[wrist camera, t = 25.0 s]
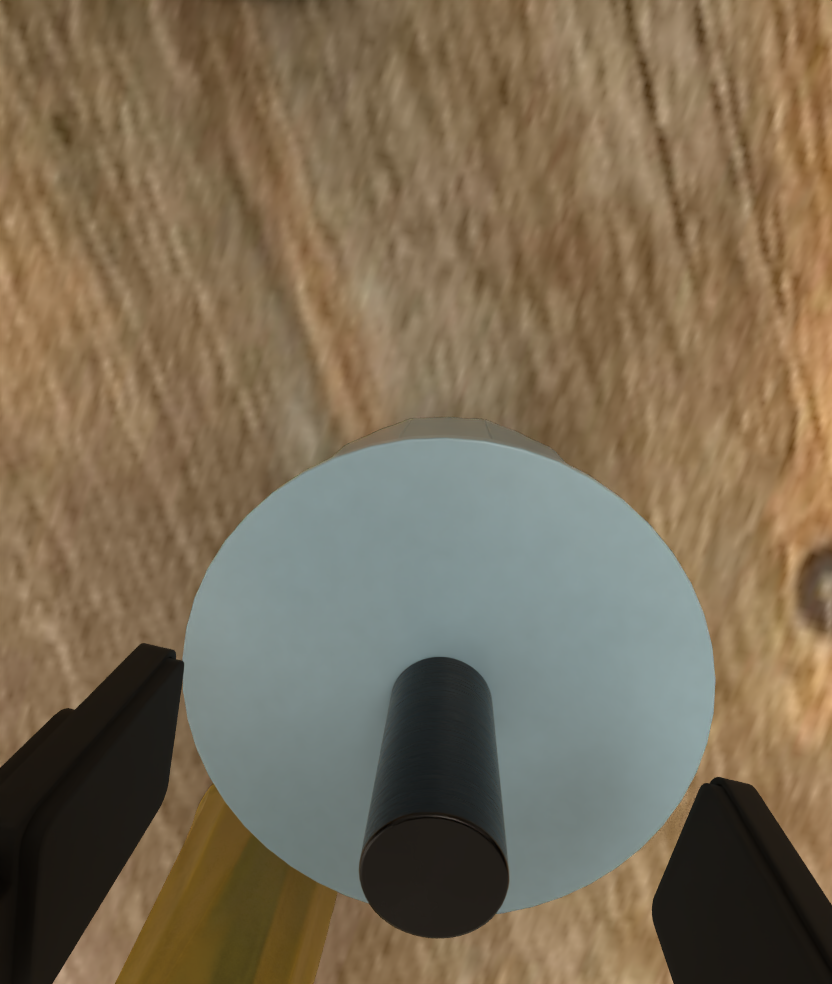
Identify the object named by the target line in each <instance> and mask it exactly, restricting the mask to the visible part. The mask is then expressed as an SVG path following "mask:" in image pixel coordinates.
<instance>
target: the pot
mask: <svg viewBox="0 0 832 984" xmlns="http://www.w3.org/2000/svg"><path fill="white" fill-rule="evenodd" d="M429 435H457V436H470V437H482V438H488V439H492V440H497V441H502V442H506V443H511V444H516V445H521V446H523V447H526V448H529V449H532V450H535V451H537V452H540V453H543V454H546V455H549V456H552V457H554V458H557V459H559V460H561V461H563V462H565V461H564V460H563V459H562V458H561V457H560V456H559V455H558V454H557V453H556V452H555V451H554V450H553V449H551V448H550V447H549V446H546V445H544V444H542V443H539V442H537V441H535V440H532V439H530V438H529V437H527V436H525V435H523V434H521V433H519V432H517V431H514V430H511V429H508V428H505V427H503V426H500V425H498V424H495V423H493V422H491V421H488V420H484V419H468V418H455V417H438V418H412V419H408V420H405V421H403V422H400V423H398V424H395V425H392V426H389V427H386V428H383V429H380V430H378V431H376V432H374V433H372V434H370V435H368V436H366V437H363V438H361V439H358V440H356V441H353V442H351V443H348V444H347V445H345V446H343V447H342V448H341V449H340V450H339V451H338V452H337V453H336V454H334V455H333V456H336V455H338V454H341V453H344V452H347V451H350V450H353V449H356V448H359V447H362V446H365V445H368V444H371V443H376V442H381V441H387V440H392V439H398V438H403V437H409V436H429ZM333 456H332V457H333ZM565 463H566V462H565Z"/></svg>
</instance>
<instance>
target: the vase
mask: <svg viewBox="0 0 832 984" xmlns="http://www.w3.org/2000/svg"><path fill="white" fill-rule="evenodd" d="M336 897H337V891H335V890H333V889H330V888H328V887H326V886H324V885H322V884H320V883H318V882H316V881H314V880H313V879H311V878H309V877H308V876H306V875H304V874H303V873H301V872H299V871H298V870H296V869H294V868H293V867H291V866H290V865H289V864H287V863H286V862H285V861H283V860H282V859H281V858H279V857H278V856H277V855H276V854H274V853H273V852H272V851H270V850H269V849H268V848H266V847H265V846H264V845H263V844H262V843H261V842H260V841H259V840H258V839H257V838H256V837H255V836H254V835H253V834H252V833H251V832H250V831H249V830H248V829H247V828H246V827H245V826H244V825H243V824H242V822H241V821H240V820H239V819H238V817H237V816H236V815H235V814H234V813H233V811H232V810H231V809H230V808H229V806H228V805H227V804H226V803H225V801H224V799H223V798H222V796H221V795H220V793H219V791H218V790H217V788H216V787H215V785H214V783H213V784H212V785H211V786H210V787H209V789H208V790H207V792H206V793H205V795H204V796H203V798H202V800H201V802H200V804H199V806H198V808H197V811H196V814H195V817H194V821H193V824H192V826H191V828H190V831H189V833H188V835H187V838H186V840H185V842H184V845H183V847H182V849H181V851H180V853H179V855H178V857H177V859H176V861H175V863H174V865H173V867H172V869H171V871H170V873H169V875H168V877H167V879H166V881H165V883H164V885H163V887H162V889H161V892H160V894H159V896H158V898H157V900H156V902H155V904H154V906H153V908H152V910H151V912H150V914H149V916H148V918H147V920H146V922H145V924H144V926H143V928H142V930H141V932H140V934H139V936H138V938H137V940H136V942H135V944H134V946H133V948H132V950H131V952H130V954H129V956H128V958H127V960H126V962H125V964H124V966H123V968H122V971H121V973H120V975H119V977H118V979H117V981H116V983H115V984H313V983H314V980H315V977H316V973H317V970H318V966H319V962H320V958H321V954H322V951H323V947H324V944H325V940H326V936H327V932H328V928H329V923H330V919H331V916H332V912H333V908H334V905H335V901H336Z"/></svg>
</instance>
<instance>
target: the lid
mask: <svg viewBox="0 0 832 984" xmlns="http://www.w3.org/2000/svg"><path fill="white" fill-rule="evenodd" d="M182 661H183V662H184V674H183V693H184V699H185V705H186V711H187V718H188V722H189V725H190V729H191V732H192V735H193V738H194V742H195V745H196V748H197V751H198V753H199V755H200V757H201V760H202V762H203V764H204V766H205V768H206V770H207V773H208V775H209V777H210V779H211V780H212V782H213V783H214V785H215V787H216V788H217V790H218V791H219V793H220V795H221V796H222V798H223V799H224V801H225V803H226V804H227V805H228V806H229V808H230V809H231V810H232V811H233V813H234V814H235V815H236V816H237V817H238V819H239V820H240V821H241V822H242V824H243V825H244V826H245V827H246V828H247V829H248V830H249V831H250V832H251V833H252V834H253V835H254V836H255V837H256V838H257V839H258V840H259V841H260V842H261V843H262V844H263V845H264V846H265V847H266V848H268V849H269V850H270V851H272V852H273V853H274V854H276V855H277V856H278V857H279V858H281V859H282V860H283V861H285V862H286V863H287V864H289V865H290V866H291V867H293V868H294V869H296V870H298V871H299V872H301V873H303V874H304V875H306V876H308V877H309V878H311V879H313V880H314V881H316V882H318V883H320V884H322V885H324V886H326V887H328V888H330V889H333V890H335V891H337V892H339V893H341V894H343V895H345V896H348V897H351V898H354V899H357V900H360V901H363V902H366V903H369V904H370V906H371V907H372V908H373V910H374V911H375V912H376V913H377V914H378V915H379V916H380V917H381V918H382V919H384V920H385V921H386V922H387V923H389V924H390V925H392V926H394V927H395V928H397V929H399V930H402V931H404V932H406V933H409V934H412V935H416V936H420V937H426V938H451V937H456V936H461V935H464V934H467V933H470V932H472V931H474V930H476V929H478V928H480V927H481V926H483V925H484V924H486V923H487V922H488V921H489V920H491V919H492V918H493V916H494V915H495V914H501V913H506V912H511V911H515V910H520V909H525V908H530V907H533V906H537V905H540V904H543V903H546V902H549V901H552V900H555V899H558V898H561V897H563V896H565V895H568V894H570V893H572V892H574V891H576V890H578V889H581V888H583V887H585V886H587V885H589V884H591V883H593V882H594V881H596V880H598V879H599V878H601V877H602V876H604V875H606V874H607V873H609V872H611V871H612V870H614V869H615V868H617V867H618V866H619V865H621V864H622V863H623V862H624V861H626V860H627V859H628V858H629V857H631V856H632V855H633V854H634V853H636V852H637V851H638V850H639V849H641V848H642V847H643V846H644V845H645V844H646V843H647V842H648V841H649V839H650V838H651V837H652V836H653V835H654V834H655V833H656V832H657V831H658V830H659V829H660V828H661V827H662V826H663V825H664V823H665V822H666V821H667V819H668V818H669V817H670V815H671V814H672V813H673V811H674V810H675V808H676V807H677V806H678V804H679V803H680V802H681V800H682V798H683V796H684V795H685V793H686V791H687V789H688V787H689V785H690V784H691V782H692V780H693V778H694V776H695V774H696V772H697V769H698V767H699V764H700V761H701V759H702V756H703V753H704V750H705V748H706V745H707V741H708V736H709V732H710V727H711V722H712V717H713V713H714V695H715V670H714V659H713V649H712V644H711V640H710V636H709V632H708V628H707V624H706V619H705V615H704V613H703V610H702V608H701V605H700V603H699V601H698V598H697V596H696V593H695V591H694V589H693V586H692V584H691V582H690V580H689V578H688V577H687V575H686V573H685V572H684V570H683V568H682V567H681V565H680V563H679V562H678V560H677V558H676V557H675V555H674V553H673V552H672V551H671V550H670V548H669V547H668V546H667V545H666V543H665V542H664V541H663V540H662V539H661V537H660V536H659V535H658V534H657V532H656V531H655V530H654V529H653V528H652V526H651V525H650V524H649V523H648V522H647V521H646V520H645V519H643V518H642V517H641V516H640V515H639V514H638V513H637V512H636V511H635V510H634V509H633V508H632V507H630V506H629V505H628V504H627V503H626V502H625V501H624V500H623V499H622V498H621V497H620V496H618V495H617V494H616V493H614V492H613V491H611V490H610V489H608V488H607V487H605V486H604V485H603V484H601V483H600V482H598V481H597V480H595V479H594V478H593V477H591V476H590V475H588V474H586V473H584V472H582V471H580V470H578V469H576V468H574V467H572V466H570V465H568V464H567V463H565V462H563V461H561V460H559V459H557V458H554V457H552V456H549V455H546V454H543V453H540V452H537V451H535V450H532V449H529V448H526V447H523V446H521V445H516V444H511V443H506V442H502V441H497V440H492V439H488V438H482V437H470V436H457V435H429V436H409V437H403V438H398V439H392V440H387V441H381V442H376V443H371V444H368V445H365V446H362V447H359V448H356V449H353V450H350V451H347V452H344V453H341V454H338V455H336V456H333V457H331V458H329V459H327V460H325V461H323V462H321V463H319V464H317V465H315V466H313V467H311V468H308V469H306V470H305V471H303V472H302V473H300V474H299V475H297V476H296V477H294V478H293V479H291V480H290V481H288V482H287V483H285V484H284V485H282V486H281V487H279V488H278V489H276V490H275V491H274V492H273V493H271V494H270V495H269V496H268V497H267V498H266V499H265V500H264V501H262V502H261V503H260V504H259V505H258V506H257V507H256V508H254V509H253V510H252V511H251V512H250V513H249V514H248V515H247V516H246V517H245V518H244V519H243V520H242V521H241V523H240V524H239V525H238V526H237V527H236V529H235V530H234V531H233V532H232V533H231V534H230V536H229V537H228V538H227V539H226V540H225V542H224V543H223V545H222V546H221V548H220V550H219V551H218V553H217V554H216V556H215V558H214V559H213V561H212V562H211V564H210V566H209V567H208V569H207V571H206V573H205V576H204V578H203V580H202V582H201V585H200V587H199V589H198V591H197V594H196V596H195V598H194V602H193V606H192V609H191V613H190V617H189V620H188V624H187V628H186V635H185V643H184V651H183V659H182Z"/></svg>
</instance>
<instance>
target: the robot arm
mask: <svg viewBox="0 0 832 984" xmlns="http://www.w3.org/2000/svg"><path fill="white" fill-rule="evenodd" d="M183 674H184V662H183V661H180V660H176V652H175V651H174V650H171V649H167V648H163V647H158V646H154V645H150V644H145V643H142V644H140V645H139V646H138V647H137V648H136V649H135V650H134V651H133V652H132V653H131V654H130V655H129V656H128V657H127V658H126V659H125V660H124V661H123V662H122V663H121V664H120V665H119V666H118V667H117V668H116V669H115V670H114V671H113V672H112V673H111V674H110V675H109V676H108V677H107V678H106V679H105V680H104V681H103V682H102V683H101V684H100V685H99V686H98V687H97V688H96V689H95V690H94V691H93V692H92V693H91V694H90V695H89V696H88V697H87V698H86V699H85V700H84V701H83V702H82V703H81V704H80V705H79V706H78V707H77V708H76V709H75V710H73V709H69V708H67V709H63V710H61V711H59V712H58V713H57V714H56V715H54V716H53V717H52V718H51V719H50V720H49V721H48V722H47V723H46V724H45V725H44V726H43V727H42V728H41V729H40V730H39V731H38V732H37V733H36V734H35V735H34V736H33V737H32V738H31V739H29V740H28V741H27V742H26V743H25V744H24V745H23V746H22V747H21V748H20V749H19V750H18V751H17V752H16V753H15V754H14V755H13V756H12V757H11V758H10V759H9V760H8V761H7V762H6V763H5V764H4V765H3V766H2V767H1V768H0V984H52V983H53V982H54V980H55V978H56V977H57V975H58V973H59V972H60V970H61V969H62V967H63V965H64V964H65V962H66V960H67V959H68V957H69V955H70V954H71V952H72V951H73V949H74V947H75V946H76V944H77V942H78V941H79V939H80V938H81V936H82V934H83V933H84V931H85V929H86V928H87V926H88V924H89V923H90V921H91V920H92V918H93V916H94V915H95V913H96V911H97V910H98V908H99V906H100V905H101V903H102V902H103V900H104V898H105V897H106V895H107V893H108V892H109V890H110V888H111V887H112V885H113V884H114V882H115V880H116V879H117V877H118V875H119V874H120V872H121V870H122V869H123V867H124V866H125V864H126V862H127V861H128V859H129V857H130V856H131V854H132V853H133V851H134V849H135V848H136V846H137V844H138V843H139V841H140V839H141V838H142V836H143V835H144V833H145V831H146V830H147V828H148V826H149V825H150V823H151V821H152V820H153V818H154V817H155V815H156V813H157V812H158V810H159V808H160V806H161V804H162V802H163V800H164V797H165V794H166V791H167V787H168V782H169V775H170V767H171V760H172V753H173V746H174V739H175V731H176V724H177V717H178V710H179V703H180V695H181V688H182V681H183ZM652 918H653V923H654V926H655V929H656V932H657V935H658V938H659V941H660V944H661V947H662V950H663V953H664V956H665V959H666V962H667V965H668V968H669V971H670V974H671V977H672V980H673V983H674V984H832V905H831V903H830V902H829V900H828V899H827V897H826V896H825V894H824V893H823V891H822V890H821V888H820V887H819V885H818V883H817V882H816V880H815V879H814V877H813V876H812V874H811V873H810V871H809V870H808V868H807V867H806V865H805V864H804V862H803V861H802V859H801V857H800V856H799V854H798V853H797V851H796V850H795V848H794V847H793V845H792V844H791V842H790V841H789V839H788V838H787V836H786V835H785V833H784V831H783V830H782V828H781V827H780V825H779V824H778V822H777V821H776V819H775V818H774V816H773V815H772V813H771V812H770V810H769V809H768V807H767V806H766V804H765V802H764V801H763V799H762V798H761V796H760V795H759V793H758V792H757V790H756V789H755V788H754V787H753V786H752V785H749V784H746V783H742V782H738V781H734V780H729V779H725V778H721V777H716V778H714V779H713V780H712V781H711V782H710V784H708V783H705V784H703V785H702V786H701V787H700V789H699V791H698V794H697V796H696V798H695V801H694V803H693V806H692V808H691V810H690V813H689V815H688V817H687V820H686V822H685V825H684V827H683V829H682V832H681V834H680V836H679V839H678V841H677V844H676V846H675V848H674V851H673V853H672V855H671V858H670V860H669V863H668V865H667V867H666V870H665V872H664V875H663V877H662V879H661V882H660V884H659V886H658V889H657V891H656V894H655V896H654V899H653V904H652Z"/></svg>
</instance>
